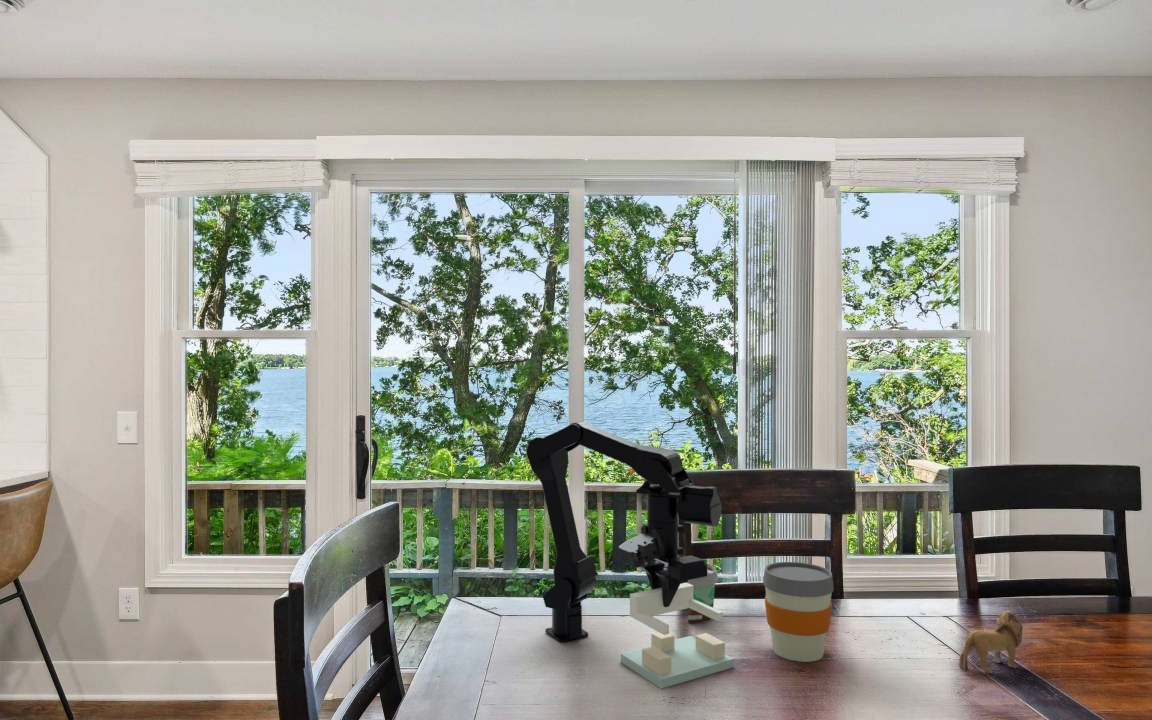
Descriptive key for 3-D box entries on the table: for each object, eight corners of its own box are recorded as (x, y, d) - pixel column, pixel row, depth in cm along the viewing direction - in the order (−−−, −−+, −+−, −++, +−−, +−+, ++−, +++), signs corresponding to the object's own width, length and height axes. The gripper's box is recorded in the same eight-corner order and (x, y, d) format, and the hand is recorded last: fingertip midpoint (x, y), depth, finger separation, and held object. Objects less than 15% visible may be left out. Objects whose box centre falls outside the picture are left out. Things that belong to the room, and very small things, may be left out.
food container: (718, 627, 144) (718, 578, 144) (687, 625, 145) (687, 576, 145) (718, 607, 156) (718, 561, 156) (690, 605, 157) (690, 560, 157)
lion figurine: (1001, 653, 131) (1001, 604, 131) (1031, 664, 126) (1031, 614, 126) (950, 669, 124) (950, 618, 124) (979, 681, 120) (979, 628, 120)
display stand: (620, 661, 127) (620, 639, 127) (689, 643, 135) (689, 622, 135) (661, 688, 117) (661, 664, 117) (733, 667, 125) (733, 644, 125)
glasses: (629, 616, 127) (630, 594, 127) (686, 603, 134) (686, 582, 134) (664, 635, 119) (664, 611, 119) (722, 620, 125) (722, 598, 125)
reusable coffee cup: (836, 645, 135) (836, 566, 135) (830, 671, 124) (830, 585, 124) (769, 634, 140) (769, 558, 140) (757, 658, 129) (757, 576, 129)
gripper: (598, 514, 134) (598, 597, 134) (658, 536, 118) (658, 630, 118) (646, 508, 139) (645, 587, 139) (709, 528, 123) (709, 617, 123)
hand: (662, 604), depth 130 cm, fingers closed on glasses, 2 cm apart
